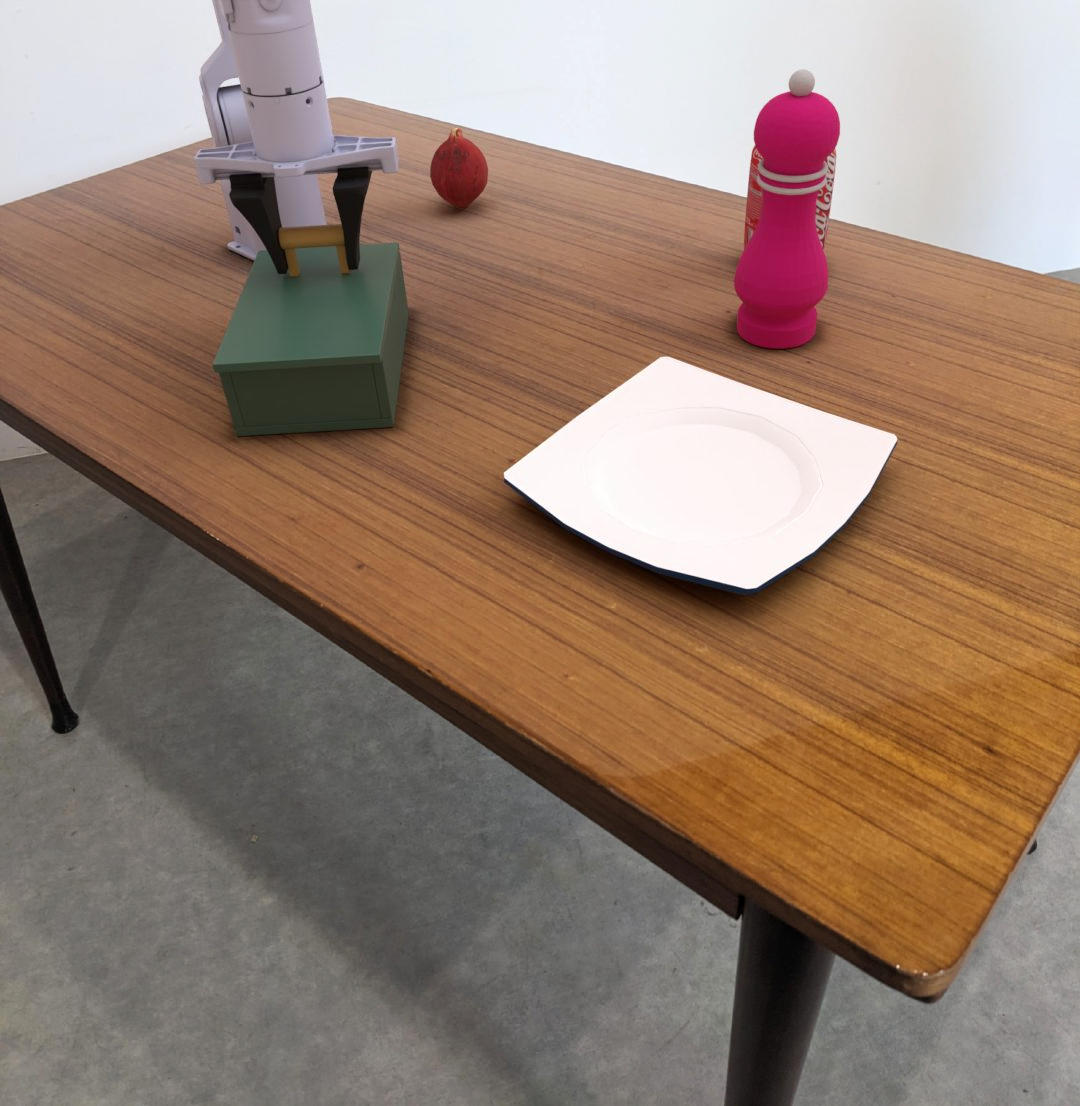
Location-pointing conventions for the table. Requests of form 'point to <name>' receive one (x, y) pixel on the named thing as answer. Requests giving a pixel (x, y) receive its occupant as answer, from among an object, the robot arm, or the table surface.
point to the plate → (704, 477)
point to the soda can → (756, 198)
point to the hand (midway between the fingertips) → (318, 266)
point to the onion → (458, 170)
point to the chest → (323, 388)
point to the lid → (311, 305)
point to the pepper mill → (787, 219)
